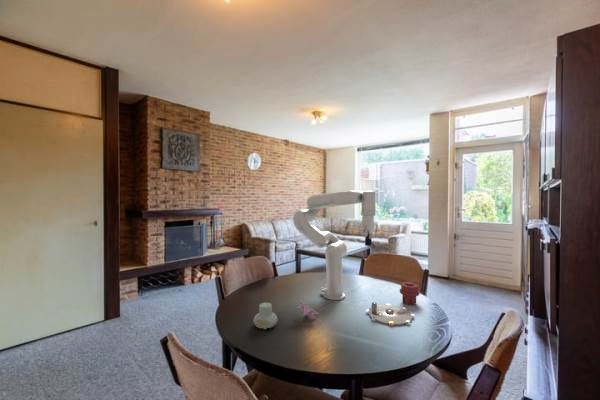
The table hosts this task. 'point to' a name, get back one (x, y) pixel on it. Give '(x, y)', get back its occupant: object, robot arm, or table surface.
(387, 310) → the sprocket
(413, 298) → the mechanical component
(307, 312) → the lily
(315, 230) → the robot arm
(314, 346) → the table surface
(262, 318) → the air freshener
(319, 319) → the table surface
